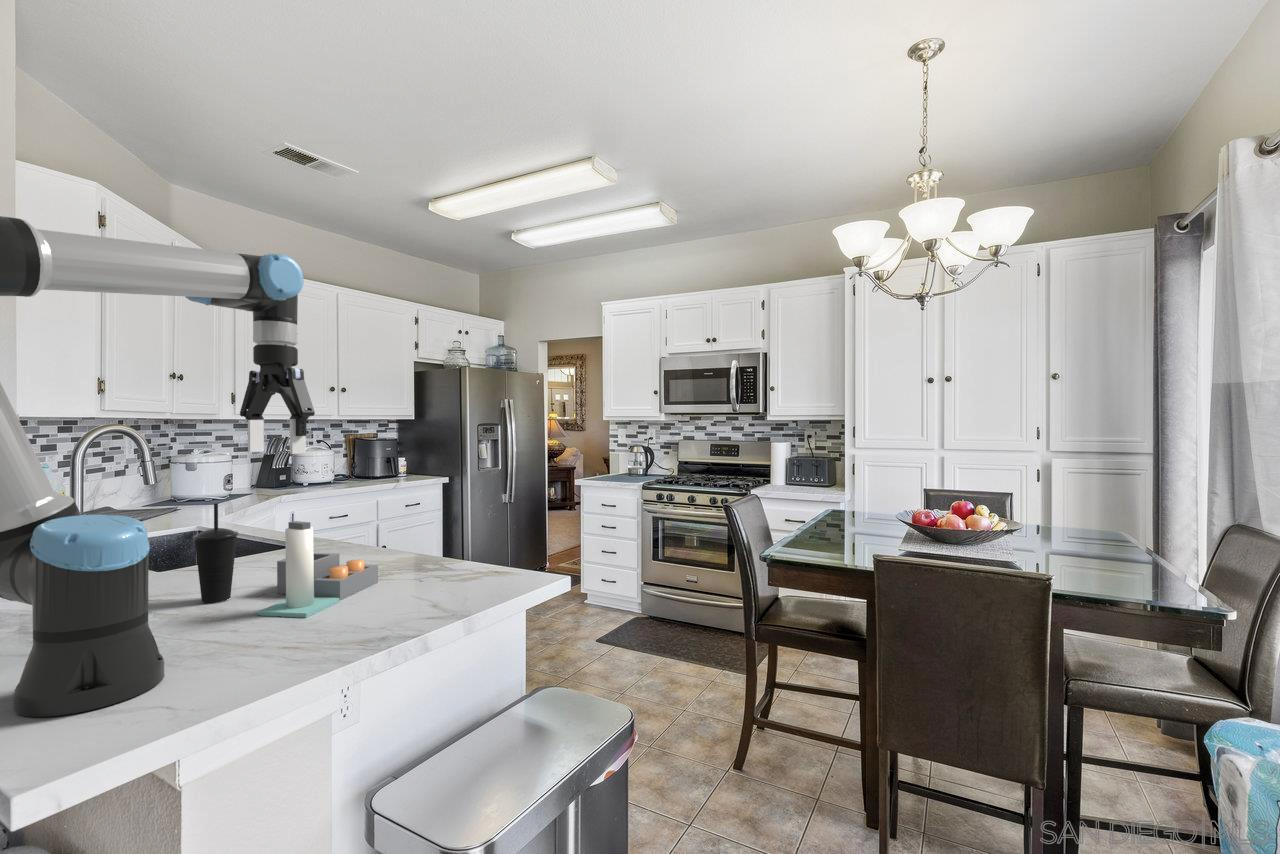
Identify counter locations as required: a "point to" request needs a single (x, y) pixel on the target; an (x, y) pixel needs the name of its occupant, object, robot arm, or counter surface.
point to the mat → (303, 612)
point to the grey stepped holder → (332, 585)
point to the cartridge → (299, 564)
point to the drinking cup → (215, 561)
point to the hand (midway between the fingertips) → (276, 452)
